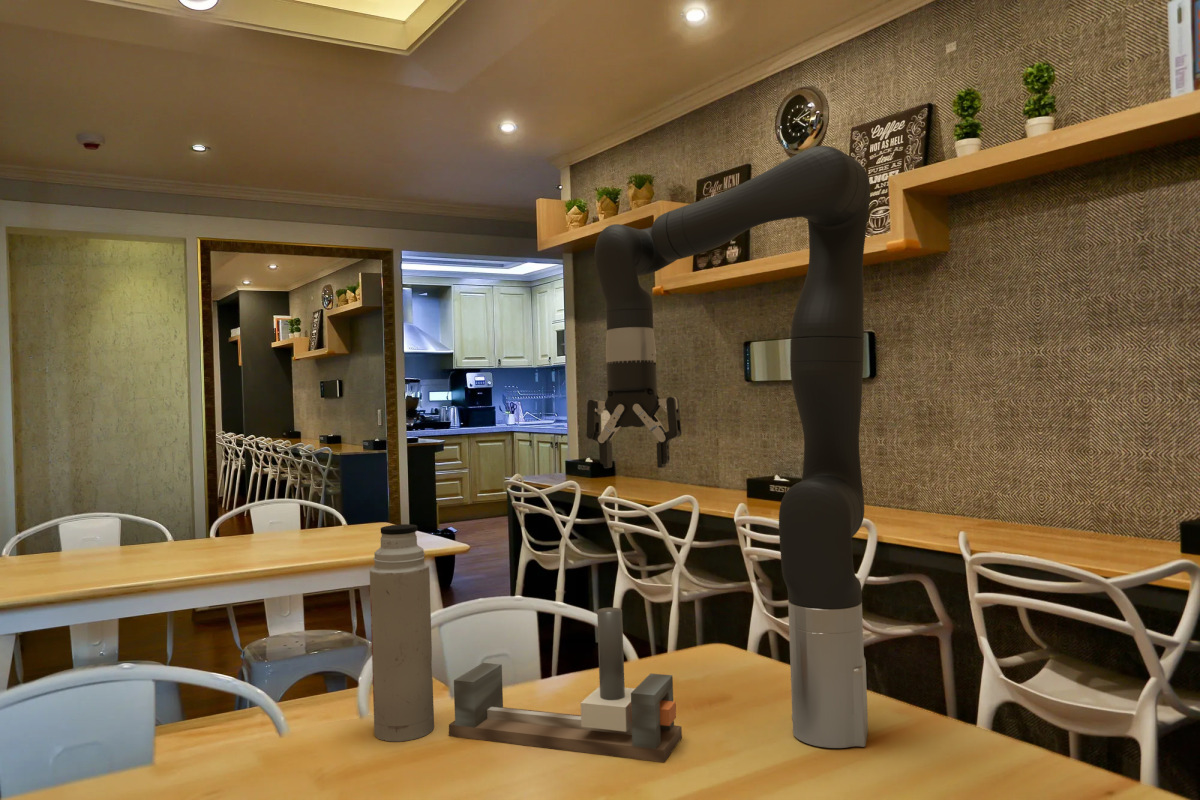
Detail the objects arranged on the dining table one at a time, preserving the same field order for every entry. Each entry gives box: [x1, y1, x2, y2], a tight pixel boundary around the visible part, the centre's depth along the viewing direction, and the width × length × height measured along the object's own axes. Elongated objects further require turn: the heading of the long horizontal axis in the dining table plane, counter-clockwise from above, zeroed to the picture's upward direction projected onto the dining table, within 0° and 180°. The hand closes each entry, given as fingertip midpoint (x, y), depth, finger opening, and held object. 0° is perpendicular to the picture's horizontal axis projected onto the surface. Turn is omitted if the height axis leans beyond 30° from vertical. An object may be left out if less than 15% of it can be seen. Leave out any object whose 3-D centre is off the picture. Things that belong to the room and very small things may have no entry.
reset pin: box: [631, 700, 677, 726], centre depth 107 cm, size 5×3×2 cm, turn 69°
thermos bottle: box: [369, 523, 435, 742], centre depth 116 cm, size 8×8×28 cm
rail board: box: [448, 662, 683, 763], centre depth 112 cm, size 30×8×8 cm, turn 69°
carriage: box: [580, 607, 636, 732], centre depth 109 cm, size 6×7×14 cm
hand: (634, 467), depth 127 cm, fingers open, 8 cm apart
